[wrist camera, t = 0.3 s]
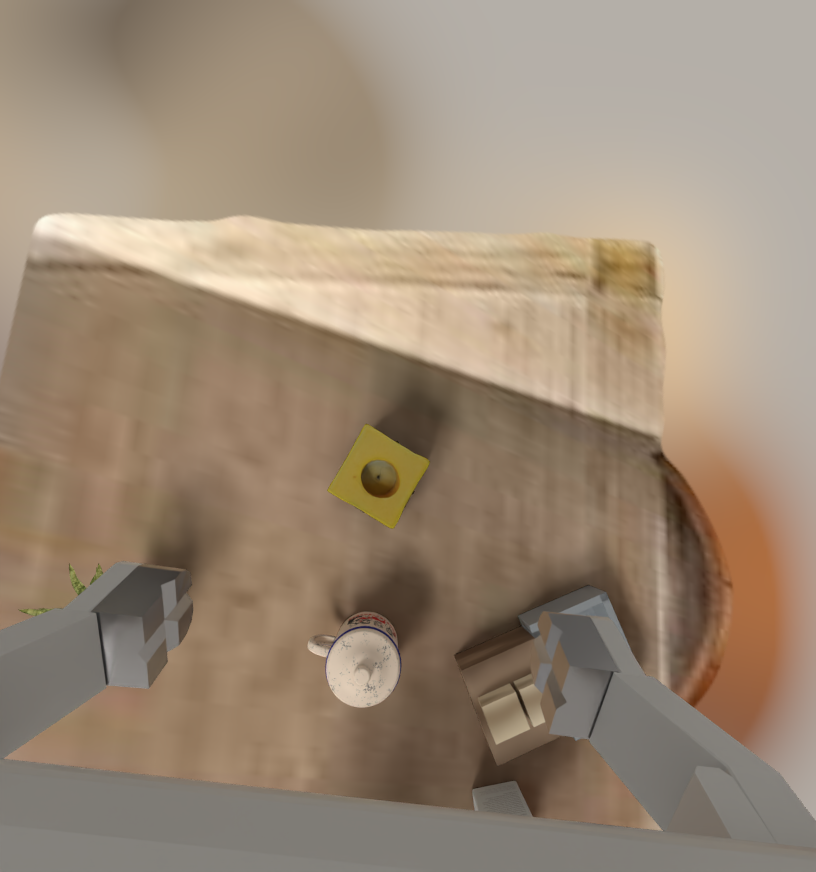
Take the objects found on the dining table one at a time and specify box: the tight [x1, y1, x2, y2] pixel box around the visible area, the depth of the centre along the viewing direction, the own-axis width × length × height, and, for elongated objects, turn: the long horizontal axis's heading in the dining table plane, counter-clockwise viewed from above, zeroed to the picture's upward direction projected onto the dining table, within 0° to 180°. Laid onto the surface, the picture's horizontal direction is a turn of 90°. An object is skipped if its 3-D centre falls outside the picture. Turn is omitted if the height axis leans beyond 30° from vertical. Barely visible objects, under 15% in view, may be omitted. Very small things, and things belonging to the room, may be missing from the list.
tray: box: [518, 585, 633, 741], centre depth 58 cm, size 15×12×5 cm
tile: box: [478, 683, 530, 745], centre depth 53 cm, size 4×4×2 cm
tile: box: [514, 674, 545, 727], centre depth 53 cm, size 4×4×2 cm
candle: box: [327, 424, 430, 529], centre depth 58 cm, size 10×10×10 cm
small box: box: [472, 781, 533, 817], centre depth 50 cm, size 8×6×13 cm
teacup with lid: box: [308, 612, 401, 707], centre depth 54 cm, size 12×9×12 cm
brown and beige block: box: [454, 626, 562, 767], centre depth 57 cm, size 12×10×6 cm
